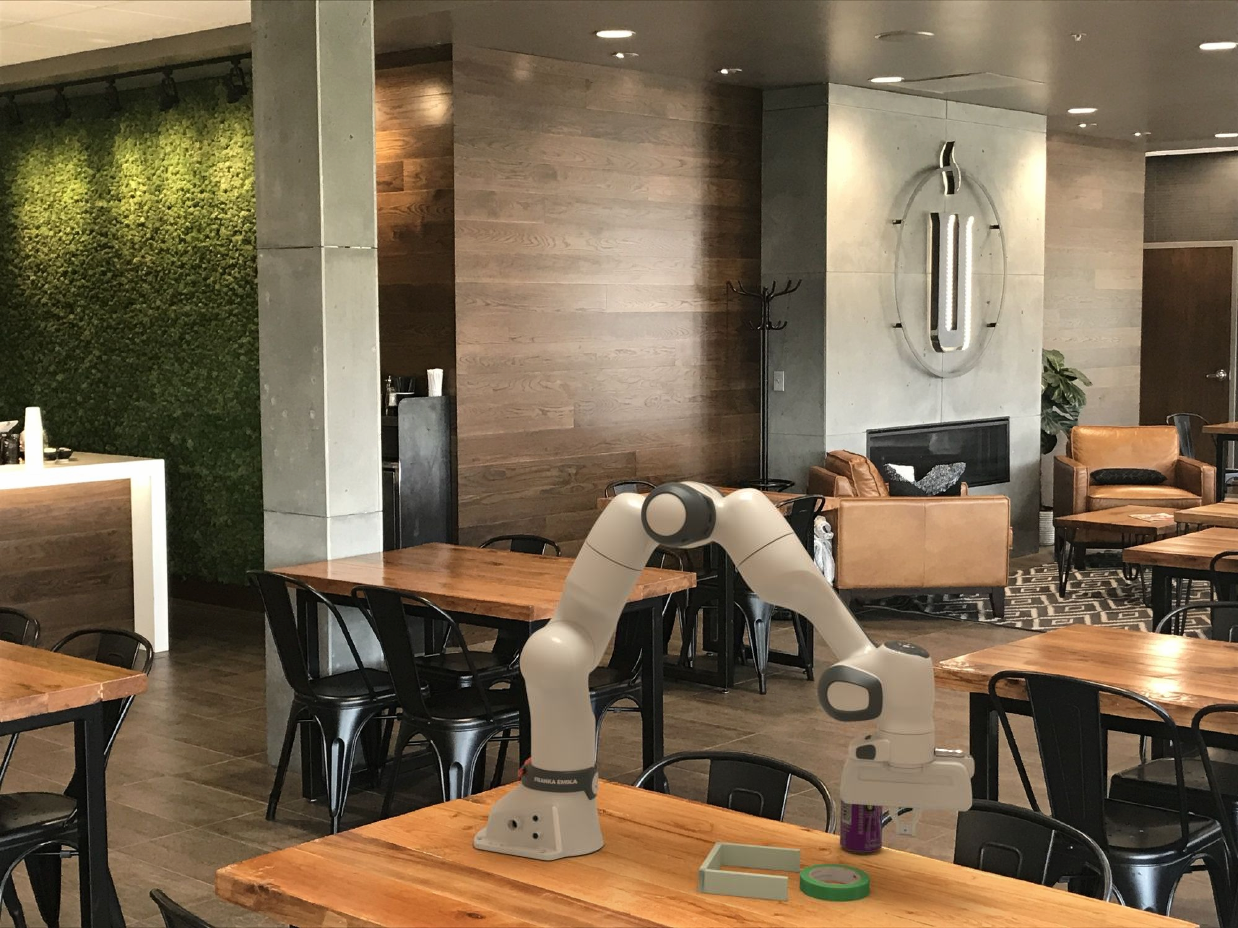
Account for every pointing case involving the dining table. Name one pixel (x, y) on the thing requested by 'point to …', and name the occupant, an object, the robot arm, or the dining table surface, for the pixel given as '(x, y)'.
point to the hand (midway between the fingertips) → (905, 834)
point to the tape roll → (818, 889)
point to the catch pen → (748, 882)
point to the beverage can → (861, 827)
